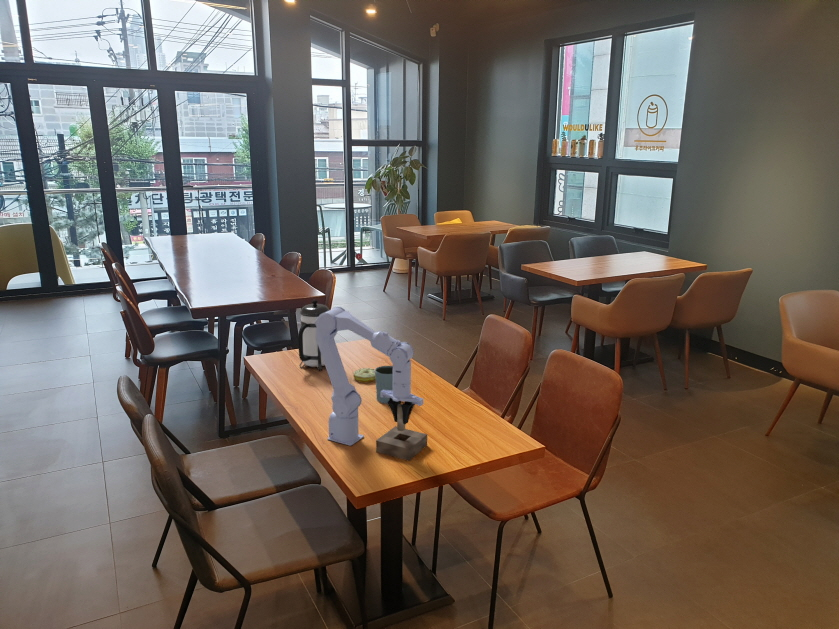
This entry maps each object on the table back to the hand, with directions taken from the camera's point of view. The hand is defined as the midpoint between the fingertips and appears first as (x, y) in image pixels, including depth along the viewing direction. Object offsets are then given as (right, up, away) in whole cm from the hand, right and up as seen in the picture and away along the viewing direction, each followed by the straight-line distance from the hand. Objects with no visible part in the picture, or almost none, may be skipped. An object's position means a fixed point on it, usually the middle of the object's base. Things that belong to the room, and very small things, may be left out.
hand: (401, 421), depth 200 cm
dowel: (0, -2, +1) cm, 2 cm away
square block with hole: (0, -9, +3) cm, 9 cm away
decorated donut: (-16, +7, +63) cm, 65 cm away
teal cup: (-6, +1, +42) cm, 43 cm away
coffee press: (-40, +11, +76) cm, 86 cm away
